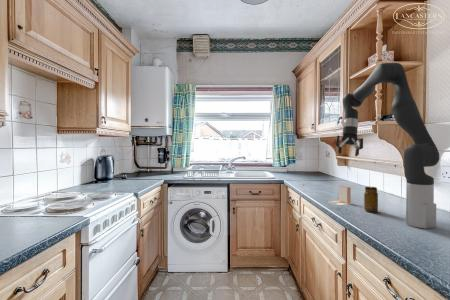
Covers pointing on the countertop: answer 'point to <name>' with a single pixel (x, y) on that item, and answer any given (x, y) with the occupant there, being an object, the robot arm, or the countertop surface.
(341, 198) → the tile
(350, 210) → the countertop surface
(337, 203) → the board
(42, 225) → the countertop surface
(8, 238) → the countertop surface
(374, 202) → the condiment
